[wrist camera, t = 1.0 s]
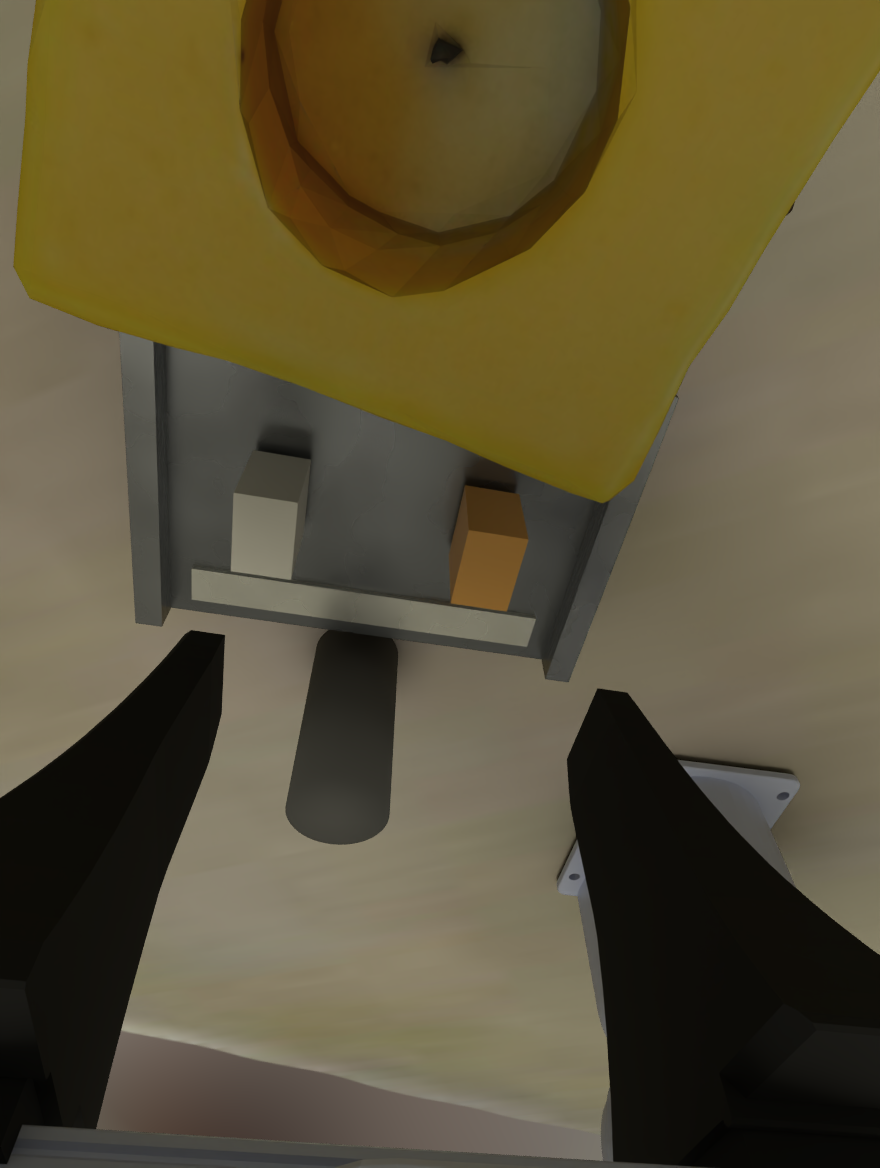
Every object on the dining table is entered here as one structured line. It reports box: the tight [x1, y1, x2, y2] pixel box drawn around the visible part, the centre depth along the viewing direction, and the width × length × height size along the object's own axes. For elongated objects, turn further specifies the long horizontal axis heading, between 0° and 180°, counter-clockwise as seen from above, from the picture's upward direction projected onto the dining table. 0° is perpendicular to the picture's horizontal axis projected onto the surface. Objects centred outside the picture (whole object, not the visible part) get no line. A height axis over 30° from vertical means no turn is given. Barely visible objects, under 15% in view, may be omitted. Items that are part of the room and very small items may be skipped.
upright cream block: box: [231, 450, 311, 580], centre depth 20 cm, size 2×2×2 cm
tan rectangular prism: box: [449, 485, 529, 612], centre depth 21 cm, size 2×2×2 cm
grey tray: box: [119, 332, 679, 682], centre depth 22 cm, size 10×14×2 cm
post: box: [286, 630, 398, 845], centre depth 24 cm, size 3×3×7 cm
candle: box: [13, 0, 880, 503], centre depth 13 cm, size 10×10×10 cm
